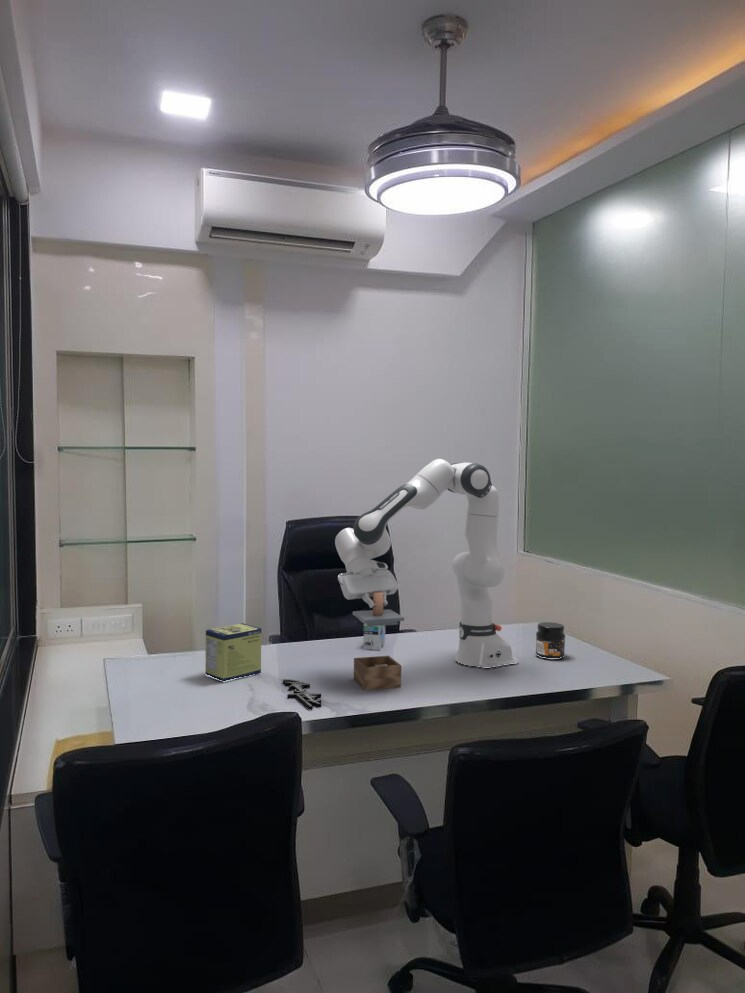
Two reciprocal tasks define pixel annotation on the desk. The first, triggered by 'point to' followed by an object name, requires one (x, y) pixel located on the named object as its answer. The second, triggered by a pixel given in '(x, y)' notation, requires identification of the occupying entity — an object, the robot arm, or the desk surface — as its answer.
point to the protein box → (233, 651)
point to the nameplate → (302, 693)
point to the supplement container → (550, 640)
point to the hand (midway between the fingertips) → (379, 605)
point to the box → (377, 672)
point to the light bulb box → (374, 637)
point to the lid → (378, 614)
